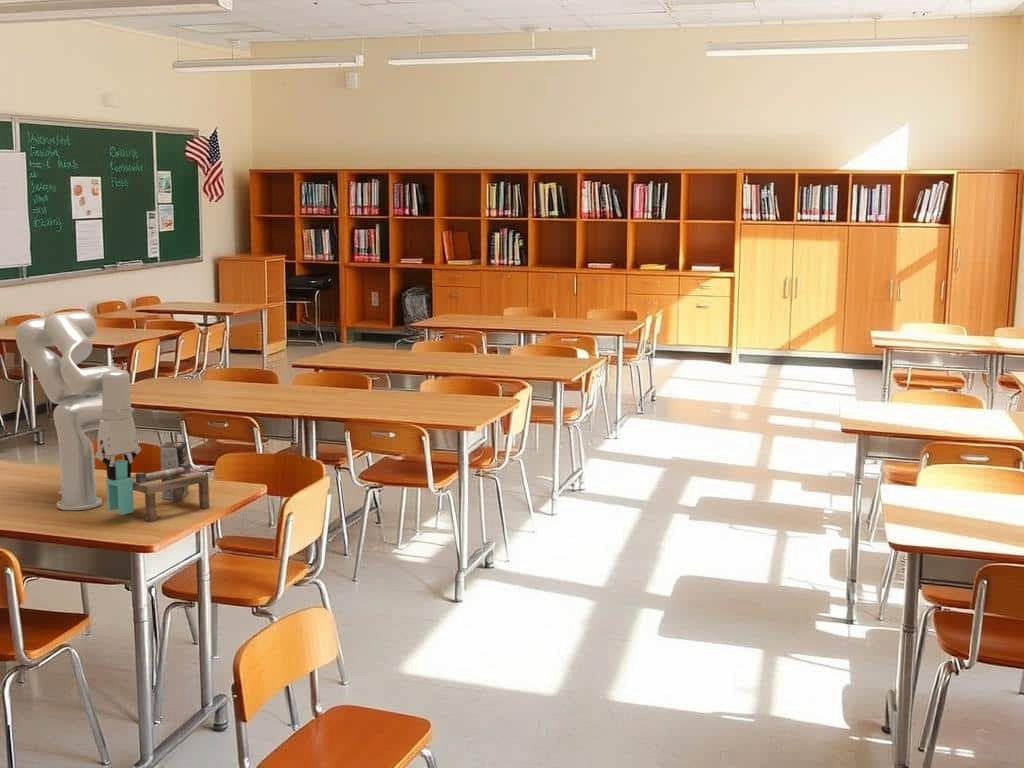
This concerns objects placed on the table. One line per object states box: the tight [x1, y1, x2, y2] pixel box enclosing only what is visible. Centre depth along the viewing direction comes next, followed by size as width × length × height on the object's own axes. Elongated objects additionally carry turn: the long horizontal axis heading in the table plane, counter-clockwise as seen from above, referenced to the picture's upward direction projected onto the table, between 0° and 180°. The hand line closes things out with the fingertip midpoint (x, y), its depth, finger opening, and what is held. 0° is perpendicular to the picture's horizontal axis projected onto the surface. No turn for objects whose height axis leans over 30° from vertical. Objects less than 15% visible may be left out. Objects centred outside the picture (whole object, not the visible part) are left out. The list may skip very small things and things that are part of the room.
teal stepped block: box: [105, 458, 135, 516], centre depth 321 cm, size 7×4×15 cm, turn 51°
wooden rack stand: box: [128, 463, 210, 523], centre depth 331 cm, size 15×20×12 cm
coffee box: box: [159, 441, 190, 500], centre depth 348 cm, size 9×6×16 cm
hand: (119, 477), depth 320 cm, fingers closed on teal stepped block, 4 cm apart
